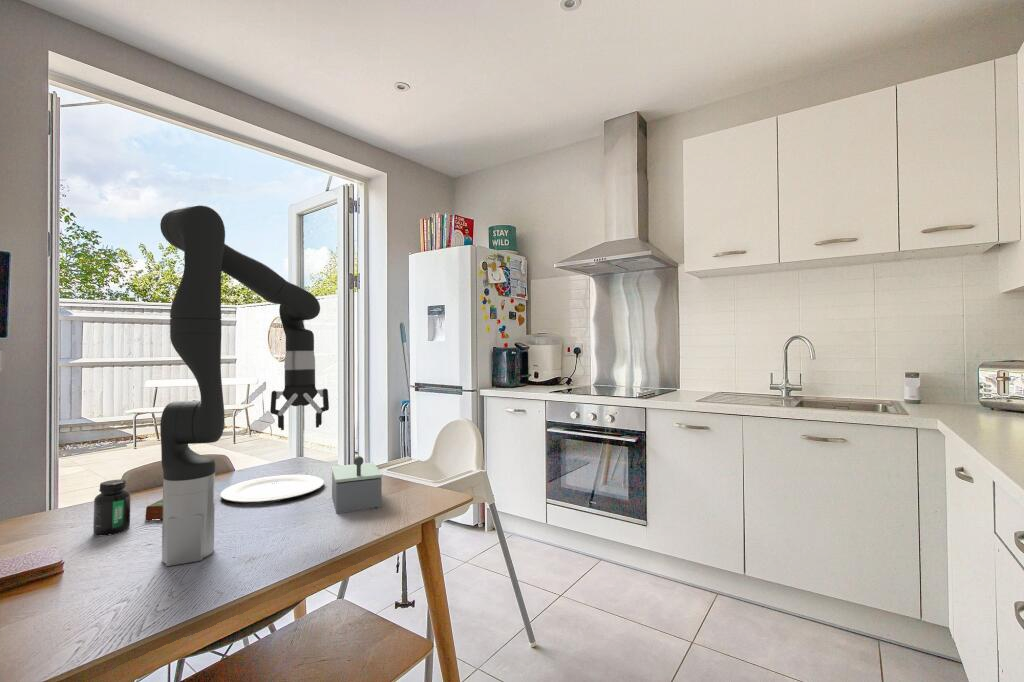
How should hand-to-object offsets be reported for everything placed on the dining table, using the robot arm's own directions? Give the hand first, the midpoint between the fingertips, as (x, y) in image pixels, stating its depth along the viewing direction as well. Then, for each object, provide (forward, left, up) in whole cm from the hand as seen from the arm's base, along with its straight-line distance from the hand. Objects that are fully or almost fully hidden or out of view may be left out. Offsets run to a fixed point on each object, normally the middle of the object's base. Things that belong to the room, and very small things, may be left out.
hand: (300, 428), depth 123 cm
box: (+6, -15, -24) cm, 29 cm away
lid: (+6, -15, -15) cm, 22 cm away
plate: (+28, +7, -24) cm, 38 cm away
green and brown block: (+20, +30, -24) cm, 43 cm away
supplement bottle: (+9, +42, -24) cm, 49 cm away
